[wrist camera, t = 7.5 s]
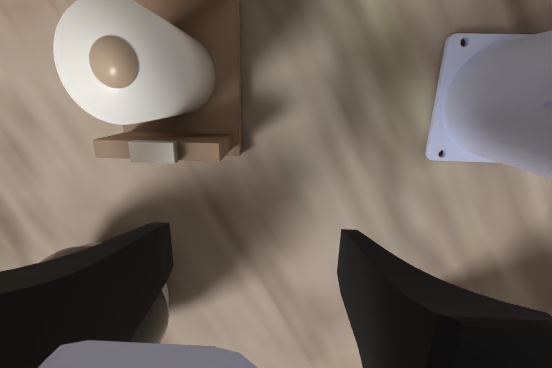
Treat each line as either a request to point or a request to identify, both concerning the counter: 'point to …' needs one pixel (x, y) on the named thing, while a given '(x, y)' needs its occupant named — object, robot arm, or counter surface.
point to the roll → (130, 63)
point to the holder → (209, 118)
